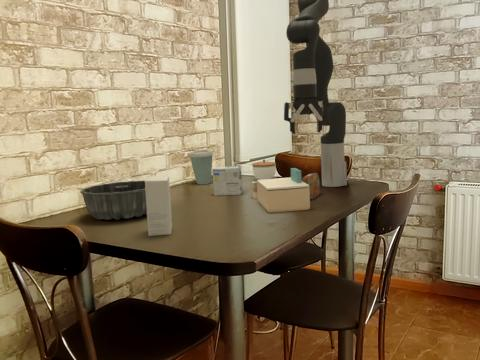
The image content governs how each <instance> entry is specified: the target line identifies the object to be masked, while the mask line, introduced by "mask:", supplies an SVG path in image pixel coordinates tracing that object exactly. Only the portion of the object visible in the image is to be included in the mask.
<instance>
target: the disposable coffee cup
mask: <svg viewBox="0 0 480 360" xmlns="http://www.w3.org/2000/svg"><path fill="white" fill-rule="evenodd" d="M213 155H214V154H213V152H212V151H211V149H197V150H194V151H190V154H189V155H188V156H189V157H190V158H189V159H190V163H191V168H192V170H193V174H194V175H193V176H194V178H195V182H196V184H197V185H207V184H211V182H212V175H213V172H212V169H213Z"/></svg>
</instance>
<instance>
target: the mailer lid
mask: <svg viewBox="0 0 480 360" xmlns="http://www.w3.org/2000/svg"><path fill="white" fill-rule="evenodd" d="M302 179H303V178H302V170H301V169H299V168H296V167H290V176H289V177H279V178H272V179H262V180H258V179H256V181H257V182H258V183H259V184H260V185H261V186H263V187H264V188H265V189H266V190H278V189H290V188H303V187H309V185H308V184H306V183H304V182H303V181H302Z"/></svg>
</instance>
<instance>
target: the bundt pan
mask: <svg viewBox="0 0 480 360" xmlns="http://www.w3.org/2000/svg"><path fill="white" fill-rule="evenodd" d="M79 193H80V194H82V197H83V201H84V205H85V208H86V211H87V213H89V215H90V216H92V217H93V218H94V219H96V220H102V219H104V220H106V221H109V220H116V221H120V219H128V220H129V219H132V218H136V219H137V218H141V216H147V207H146V191H145V180H129V181H116V182H110V183H102V184H97V185H91V186H88V187H84V188H82V189H81V190H80V192H79Z"/></svg>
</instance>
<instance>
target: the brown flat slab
mask: <svg viewBox="0 0 480 360" xmlns="http://www.w3.org/2000/svg"><path fill="white" fill-rule="evenodd" d="M301 179H302V181H303V182H304V183H306V184H308V185H309V192H310V200H314V199H315V198H316V197H318V196H319V195H320V194H321V193H320V192H321V179H320V175H319V173H318V172H314V173H312V172H311V173H309V174H307V175H305V176H303V177H302V178H301Z"/></svg>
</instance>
